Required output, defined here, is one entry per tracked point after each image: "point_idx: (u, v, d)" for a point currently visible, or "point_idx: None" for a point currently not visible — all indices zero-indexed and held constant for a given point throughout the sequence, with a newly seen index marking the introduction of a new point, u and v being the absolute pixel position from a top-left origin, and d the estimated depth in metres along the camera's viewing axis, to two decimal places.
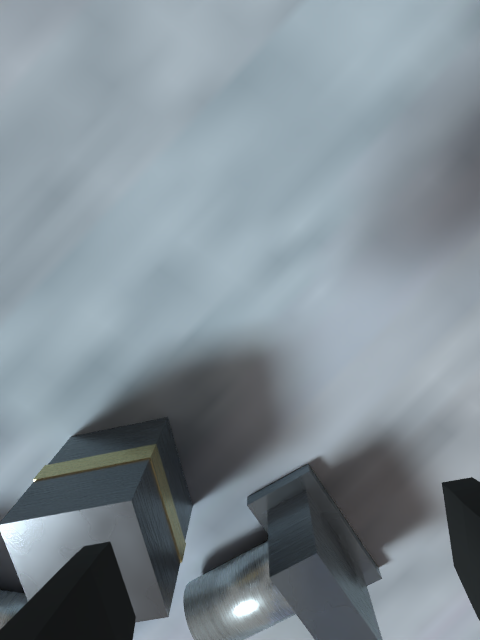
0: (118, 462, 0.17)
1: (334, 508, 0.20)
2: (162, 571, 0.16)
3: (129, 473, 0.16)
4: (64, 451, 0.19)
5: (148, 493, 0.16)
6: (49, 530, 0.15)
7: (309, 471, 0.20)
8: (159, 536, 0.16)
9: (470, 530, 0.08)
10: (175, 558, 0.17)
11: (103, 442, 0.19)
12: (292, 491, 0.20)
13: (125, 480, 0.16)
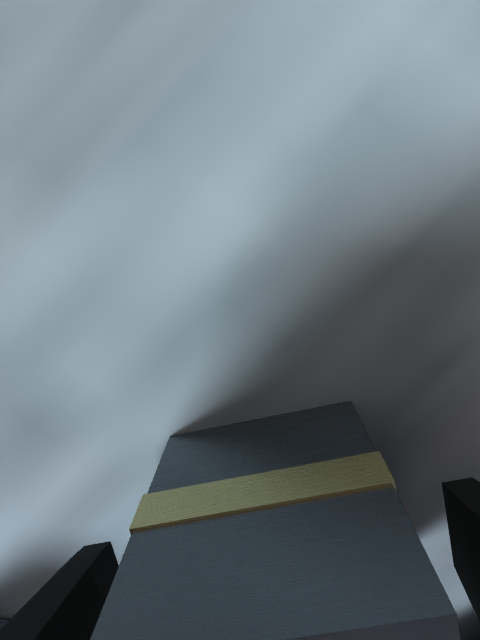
0: (320, 492, 0.08)
1: None
2: None
3: (369, 521, 0.07)
4: (171, 464, 0.10)
5: None
6: None
7: None
8: None
9: (470, 530, 0.08)
10: None
11: (246, 447, 0.10)
12: None
13: (376, 542, 0.06)
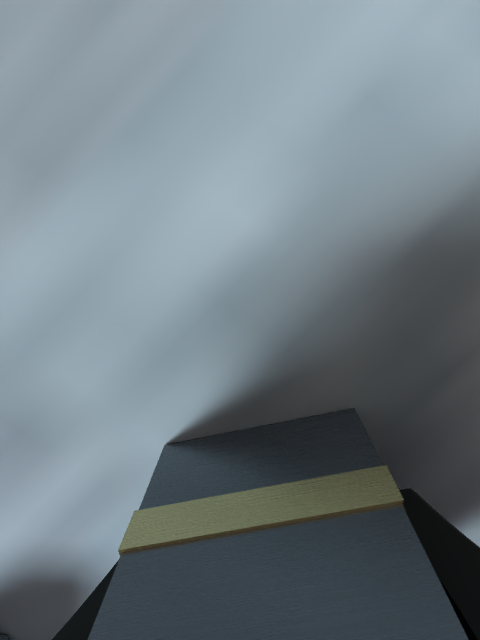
0: (323, 511, 0.07)
1: None
2: None
3: (377, 545, 0.06)
4: (164, 477, 0.09)
5: None
6: None
7: None
8: None
9: None
10: None
11: (244, 458, 0.09)
12: None
13: (386, 569, 0.06)
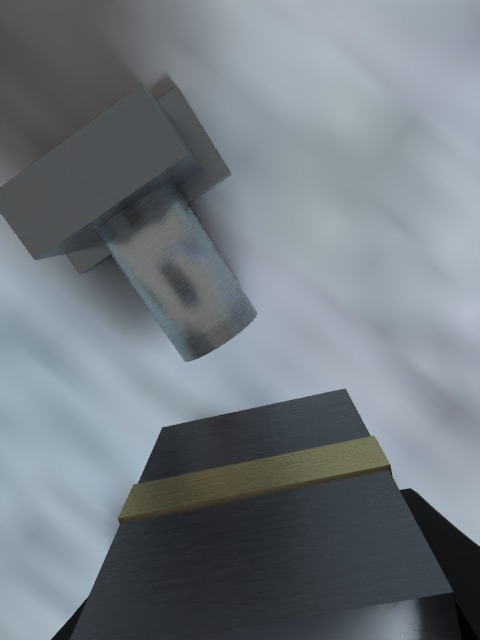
0: (314, 478, 0.07)
1: None
2: None
3: (364, 503, 0.07)
4: (162, 455, 0.10)
5: None
6: None
7: None
8: None
9: None
10: None
11: (239, 436, 0.10)
12: None
13: (371, 524, 0.06)
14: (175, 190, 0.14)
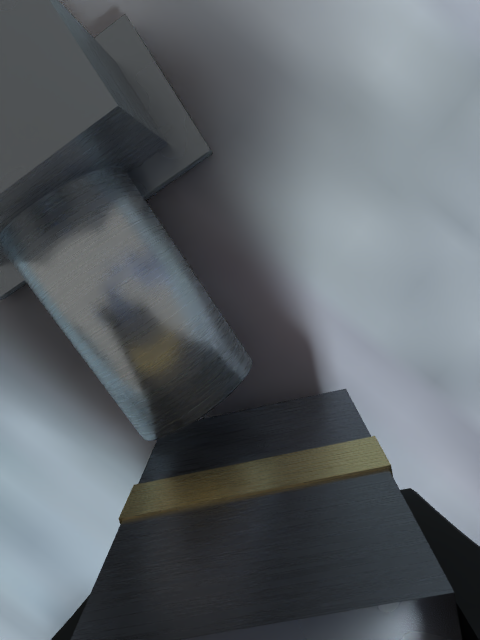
0: (314, 478, 0.08)
1: None
2: None
3: (364, 504, 0.07)
4: (162, 455, 0.10)
5: None
6: None
7: None
8: None
9: None
10: None
11: (239, 436, 0.10)
12: None
13: (372, 524, 0.06)
14: (121, 176, 0.09)
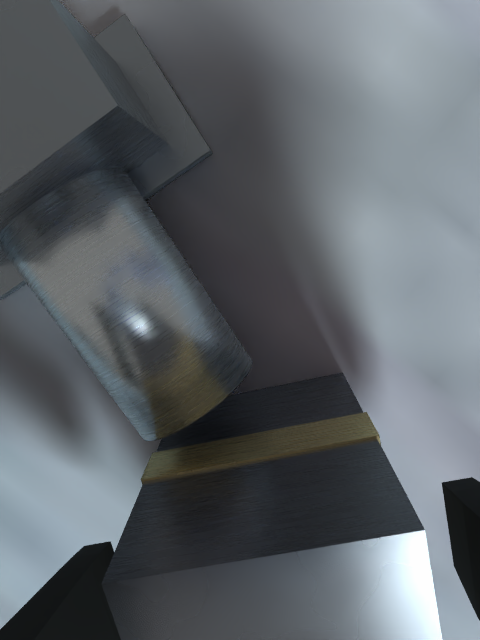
0: (312, 446, 0.09)
1: None
2: None
3: (355, 466, 0.08)
4: None
5: None
6: (219, 597, 0.06)
7: None
8: None
9: (470, 530, 0.08)
10: None
11: (245, 413, 0.11)
12: None
13: (360, 481, 0.07)
14: (120, 176, 0.09)
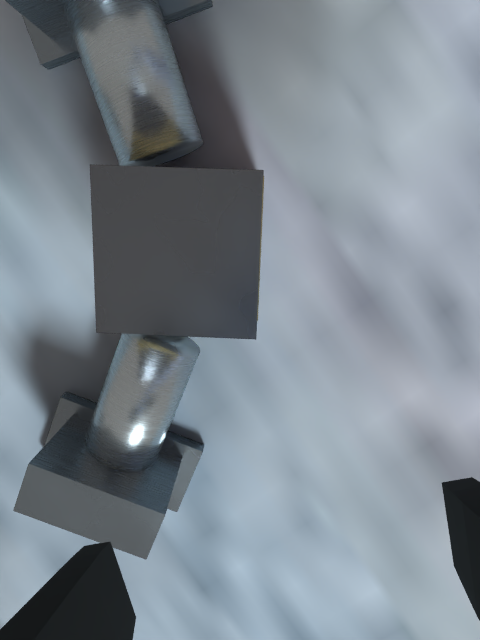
0: None
1: None
2: None
3: None
4: None
5: None
6: (151, 188, 0.12)
7: None
8: None
9: (470, 530, 0.08)
10: None
11: None
12: None
13: None
14: None
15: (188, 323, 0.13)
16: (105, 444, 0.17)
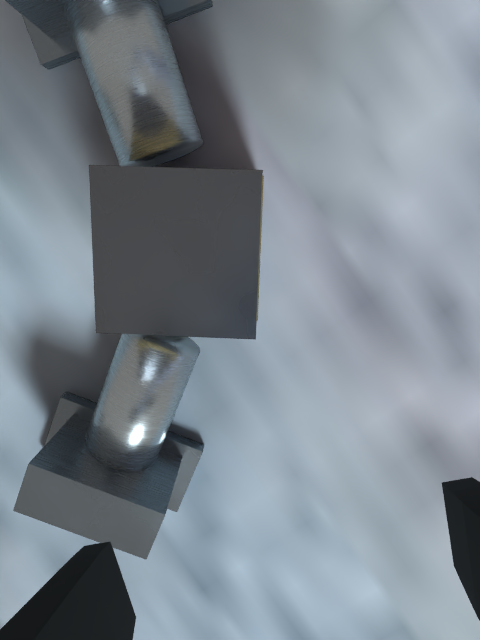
0: None
1: None
2: None
3: None
4: None
5: None
6: (150, 188, 0.12)
7: None
8: None
9: (470, 530, 0.08)
10: None
11: None
12: None
13: None
14: None
15: (188, 323, 0.13)
16: (105, 444, 0.17)
